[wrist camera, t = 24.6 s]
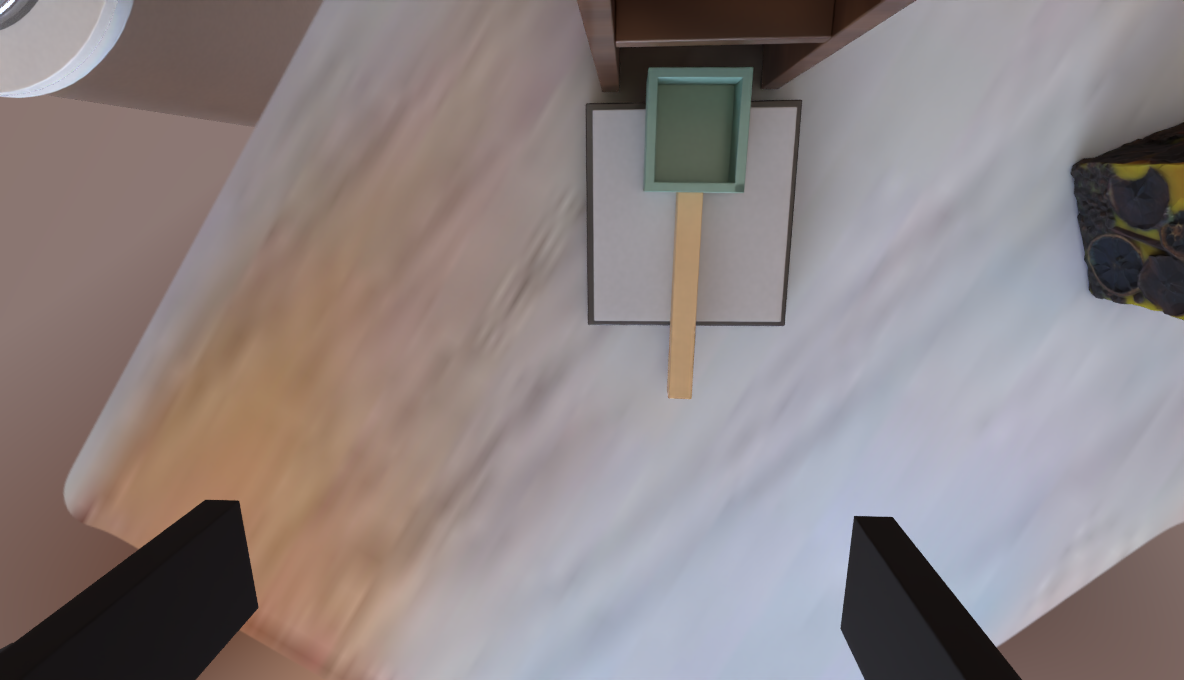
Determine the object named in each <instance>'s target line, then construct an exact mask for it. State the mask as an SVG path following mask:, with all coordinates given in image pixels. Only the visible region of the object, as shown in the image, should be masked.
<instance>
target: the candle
mask: <svg viewBox="0 0 1184 680" xmlns="http://www.w3.org/2000/svg"><path fill="white" fill-rule="evenodd" d="M1071 175H1072V176H1073V177H1074V184H1075V192H1074V194H1075V196H1076V199H1077V204H1078V210H1079V215H1078V217H1077V218H1078V221H1079V225H1080V229H1081V234H1082V238H1083V244H1084V249H1085V259H1084V260H1085V262H1086V263H1087V265H1088V277H1089V290H1090V292H1091V294H1092V295H1094V296H1095V297H1096V298H1100V299H1107V300H1112V301H1113V302H1116V303H1120V304H1134V305H1138V306H1141V307H1145V308H1147V309H1150V310H1154V311H1163V312H1164V314H1168V315H1170V316H1172V317H1176V318H1179V319H1182V320H1184V123H1182V124H1180V125H1178V126H1175V127H1172V128H1169V129H1166V130H1163V131H1159V132H1156V133H1154V134H1152V135H1150V136H1148V137H1146V138H1144V139H1137V140H1135V141H1134V142H1132V143H1128V144H1124V145H1123V146H1122V147H1120V148H1117V149H1115V150H1112V151H1109V152H1107V153H1105V154H1103V155H1100V156H1098V157H1095V158H1084V159H1082V160H1081V161H1080V162H1078V163H1076V164H1075V165H1073V168H1072V171H1071Z"/></svg>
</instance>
